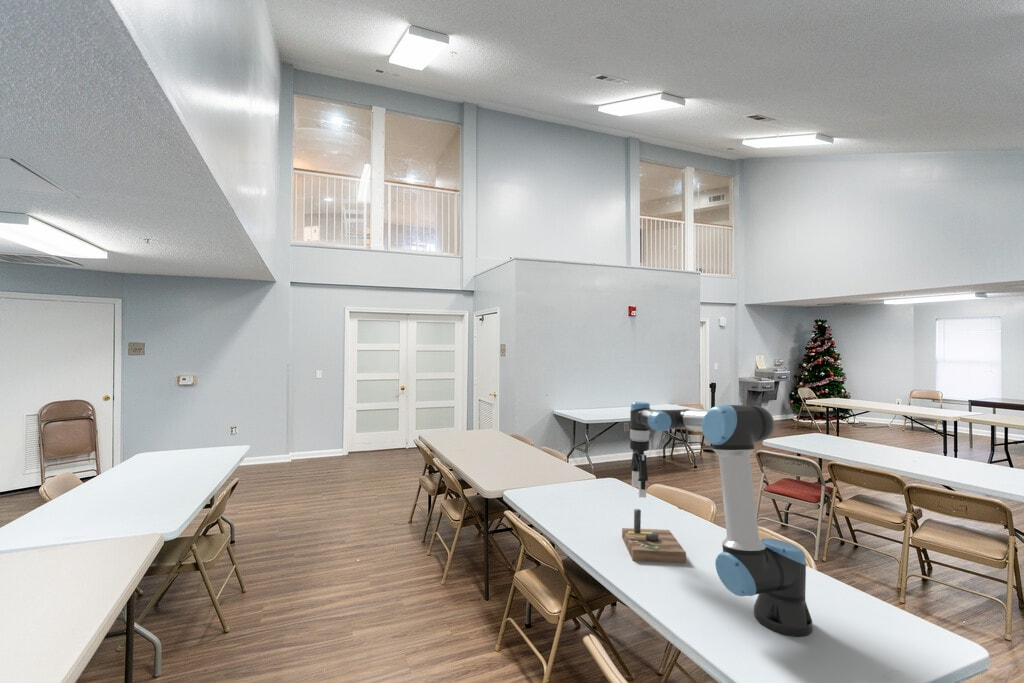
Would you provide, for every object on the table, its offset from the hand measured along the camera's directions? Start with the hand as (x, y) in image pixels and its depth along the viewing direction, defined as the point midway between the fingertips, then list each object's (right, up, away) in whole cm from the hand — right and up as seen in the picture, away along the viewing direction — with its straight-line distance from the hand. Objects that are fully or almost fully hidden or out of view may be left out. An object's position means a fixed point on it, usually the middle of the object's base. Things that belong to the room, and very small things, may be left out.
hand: (638, 491), depth 186 cm
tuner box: (+5, -23, -1) cm, 24 cm away
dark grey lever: (+2, -19, -1) cm, 19 cm away
